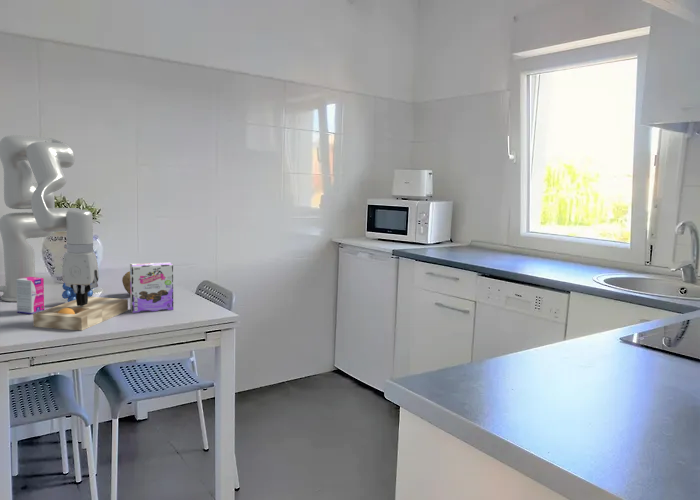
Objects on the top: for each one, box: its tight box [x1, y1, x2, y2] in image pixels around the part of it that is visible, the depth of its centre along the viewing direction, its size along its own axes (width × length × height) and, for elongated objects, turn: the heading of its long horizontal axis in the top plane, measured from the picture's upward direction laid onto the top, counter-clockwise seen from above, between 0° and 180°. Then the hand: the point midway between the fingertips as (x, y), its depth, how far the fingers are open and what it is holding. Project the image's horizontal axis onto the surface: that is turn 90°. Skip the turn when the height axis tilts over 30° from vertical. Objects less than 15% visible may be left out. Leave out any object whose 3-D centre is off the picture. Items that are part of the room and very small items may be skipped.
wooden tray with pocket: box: [32, 296, 129, 331], centre depth 172 cm, size 16×25×4 cm, turn 172°
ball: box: [58, 308, 75, 314], centre depth 165 cm, size 5×5×5 cm
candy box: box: [129, 261, 174, 314], centre depth 185 cm, size 14×6×16 cm, turn 117°
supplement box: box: [16, 276, 45, 315], centre depth 177 cm, size 6×6×12 cm
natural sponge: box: [121, 270, 130, 295], centre depth 206 cm, size 9×9×10 cm
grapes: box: [61, 282, 95, 302], centre depth 190 cm, size 12×7×12 cm, turn 134°
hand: (82, 304), depth 171 cm, fingers closed
